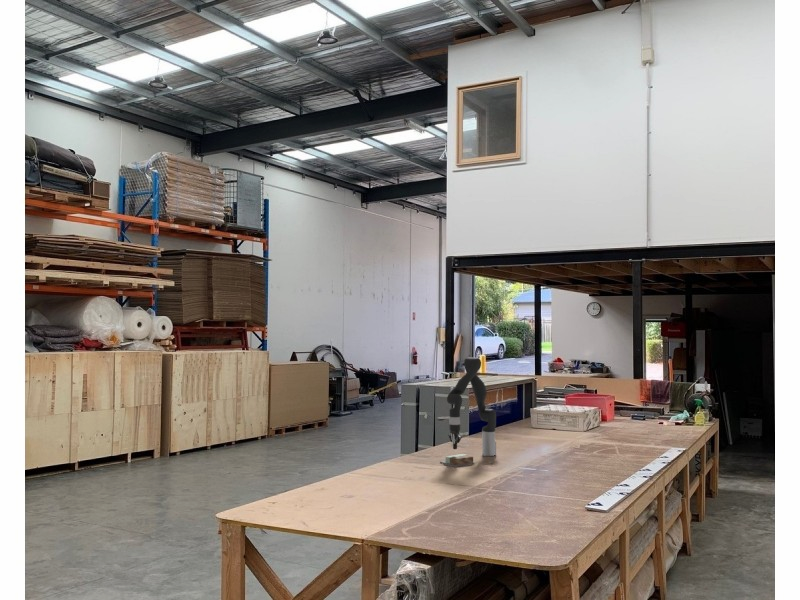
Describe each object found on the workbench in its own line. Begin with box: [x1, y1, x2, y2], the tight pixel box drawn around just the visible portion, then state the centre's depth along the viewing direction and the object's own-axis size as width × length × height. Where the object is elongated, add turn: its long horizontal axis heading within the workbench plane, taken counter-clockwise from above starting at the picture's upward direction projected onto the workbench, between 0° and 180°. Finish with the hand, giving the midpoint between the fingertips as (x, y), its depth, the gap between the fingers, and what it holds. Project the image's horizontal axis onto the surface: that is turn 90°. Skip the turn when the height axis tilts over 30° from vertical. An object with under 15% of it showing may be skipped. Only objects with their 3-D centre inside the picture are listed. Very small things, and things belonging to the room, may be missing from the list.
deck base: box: [439, 460, 475, 468], centre depth 444 cm, size 18×15×1 cm
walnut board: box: [450, 454, 474, 465], centre depth 440 cm, size 16×5×4 cm, turn 121°
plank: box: [445, 453, 469, 464], centre depth 445 cm, size 16×5×4 cm, turn 127°
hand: (455, 449), depth 446 cm, fingers closed
